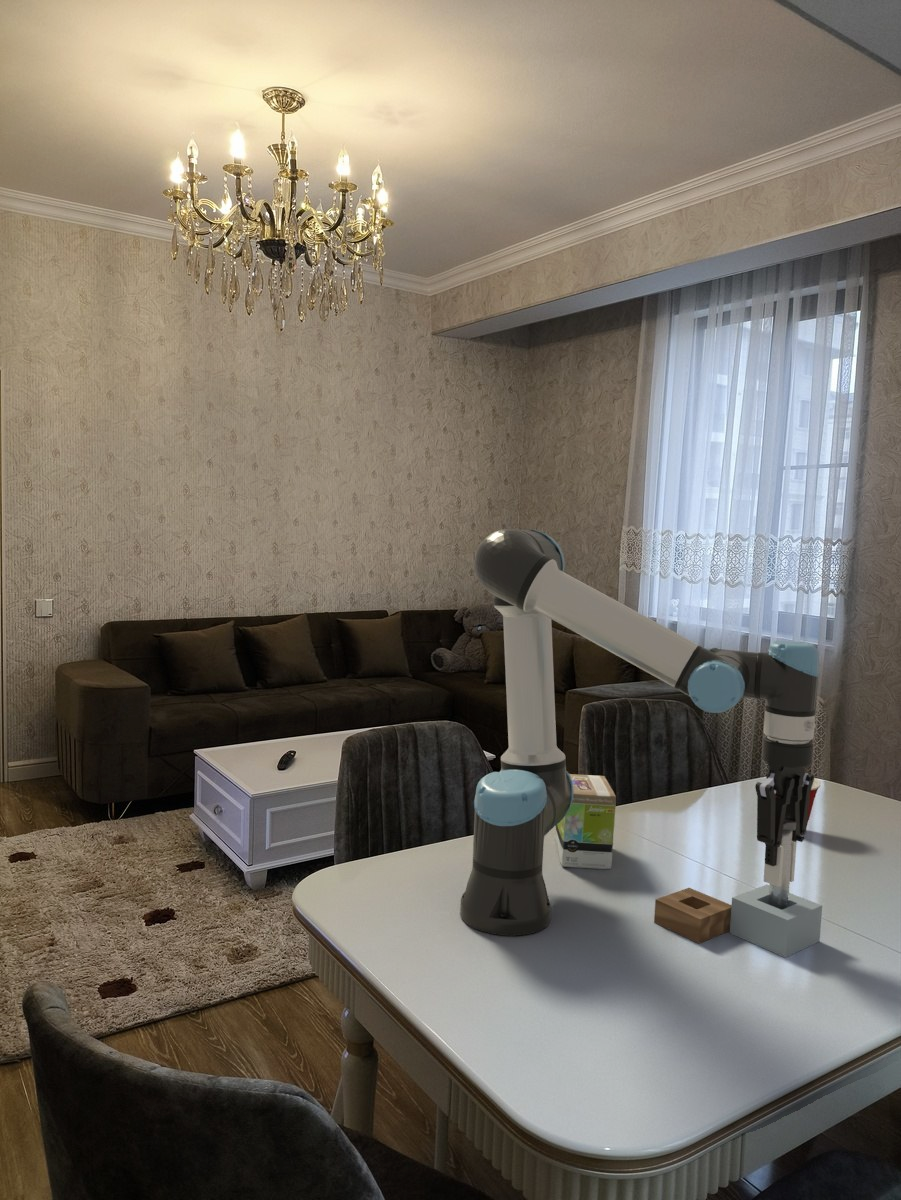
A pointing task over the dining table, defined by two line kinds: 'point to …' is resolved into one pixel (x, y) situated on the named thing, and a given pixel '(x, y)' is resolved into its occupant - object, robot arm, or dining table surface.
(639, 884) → the dining table surface
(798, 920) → the socket block
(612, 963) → the dining table surface
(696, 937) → the mount block
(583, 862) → the tea box
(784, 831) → the lock pin
